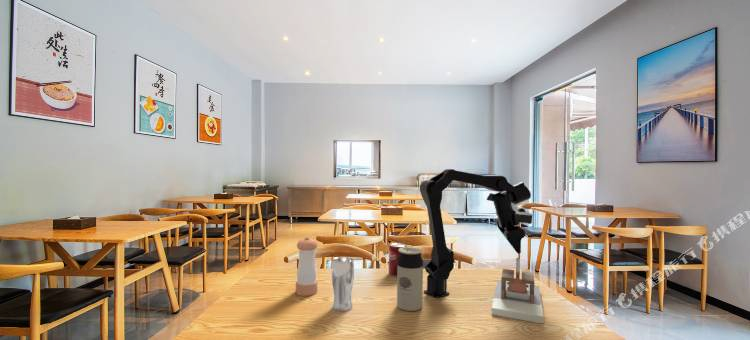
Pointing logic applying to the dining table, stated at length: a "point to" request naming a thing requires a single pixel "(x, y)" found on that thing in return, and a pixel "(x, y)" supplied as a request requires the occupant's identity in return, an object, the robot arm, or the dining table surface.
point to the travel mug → (409, 279)
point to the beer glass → (342, 282)
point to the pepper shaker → (306, 268)
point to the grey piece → (515, 294)
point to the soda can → (394, 257)
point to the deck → (518, 305)
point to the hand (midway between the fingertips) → (515, 248)
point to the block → (517, 286)
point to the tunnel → (509, 276)
